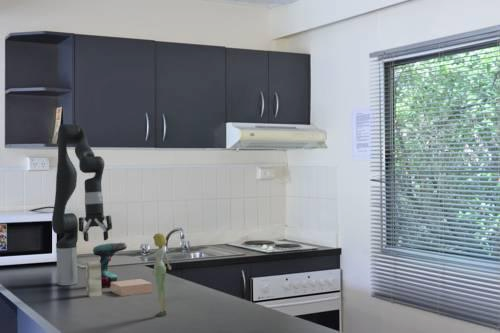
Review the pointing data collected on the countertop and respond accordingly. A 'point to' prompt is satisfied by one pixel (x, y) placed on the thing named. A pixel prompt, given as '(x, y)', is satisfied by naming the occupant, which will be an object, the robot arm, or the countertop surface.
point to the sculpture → (160, 271)
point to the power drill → (107, 260)
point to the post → (93, 279)
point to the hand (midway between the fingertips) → (96, 240)
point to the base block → (131, 287)
